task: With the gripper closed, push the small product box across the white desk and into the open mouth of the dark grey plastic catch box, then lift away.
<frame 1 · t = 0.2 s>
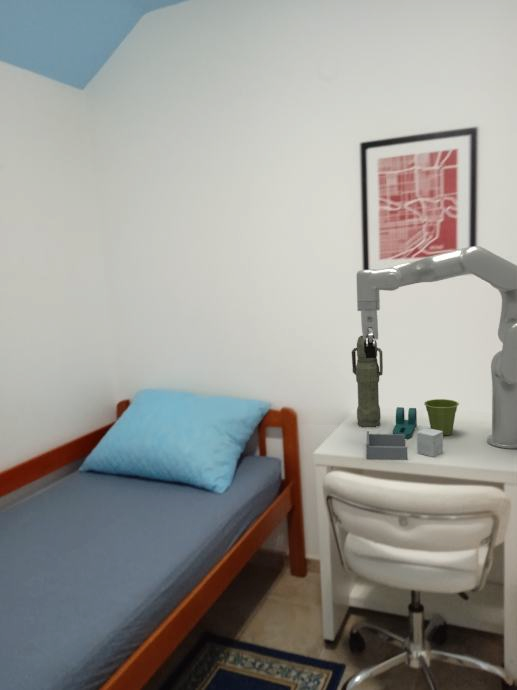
hand: (369, 355, 187), 31 cm above the table, tool pointing down, fingers open, 9 cm apart
thermos: (368, 425, 212), on the table
bracket: (404, 433, 200), on the table
plant pot: (441, 433, 197), on the table
catch box: (387, 452, 180), on the table
product box: (430, 453, 178), on the table
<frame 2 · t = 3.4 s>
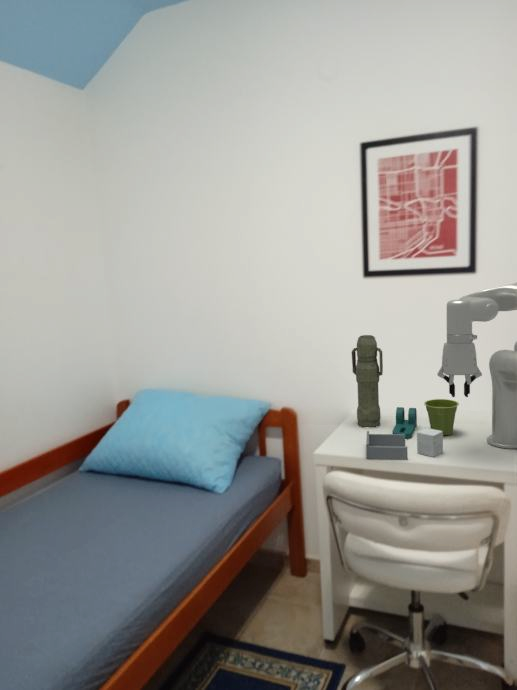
hand: (459, 395, 173), 19 cm above the table, tool pointing down, fingers open, 3 cm apart
nothing on the table moved.
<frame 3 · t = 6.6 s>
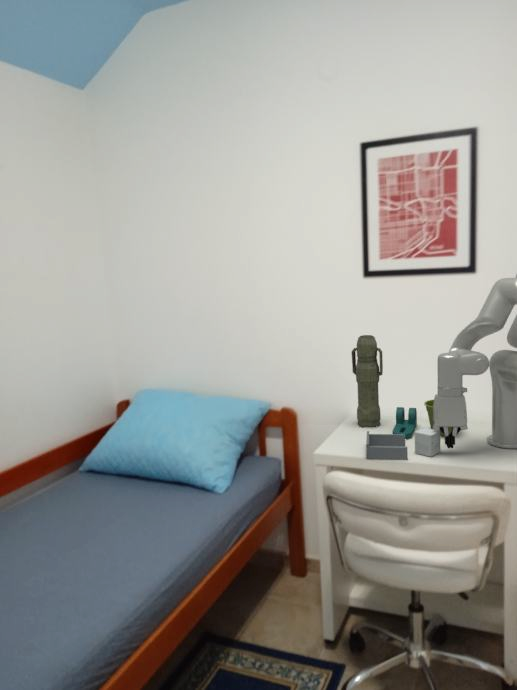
hand: (449, 446, 176), 2 cm above the table, tool pointing down, fingers closed
product box: (427, 453, 178), on the table, touching gripper
everything else where it was.
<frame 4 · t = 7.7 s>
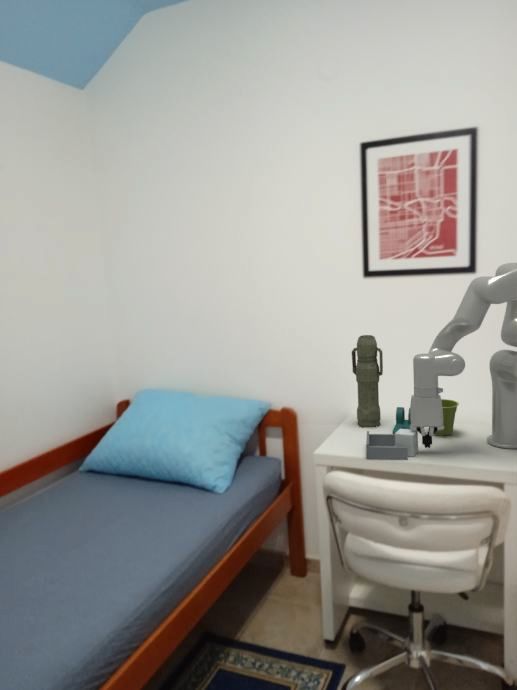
hand: (427, 446, 177), 2 cm above the table, tool pointing down, fingers closed
product box: (406, 453, 179), on the table, touching gripper
everything else where it was.
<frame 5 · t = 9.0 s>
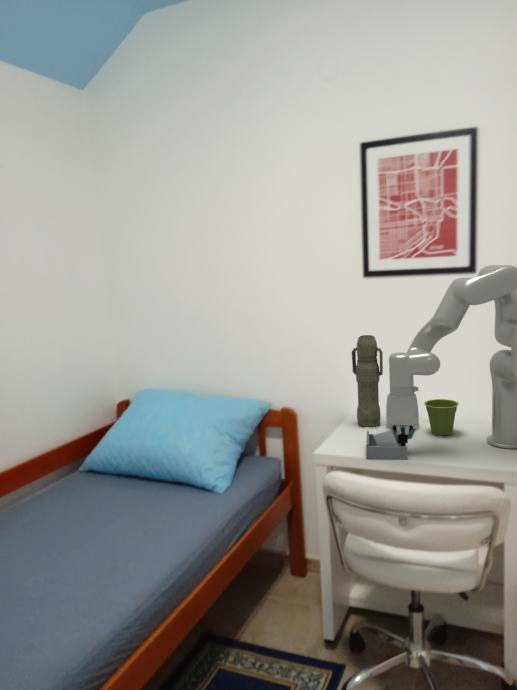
hand: (403, 444, 179), 3 cm above the table, tool pointing down, fingers closed
product box: (391, 451, 179), point 1 cm above the table, touching gripper
everything else where it was.
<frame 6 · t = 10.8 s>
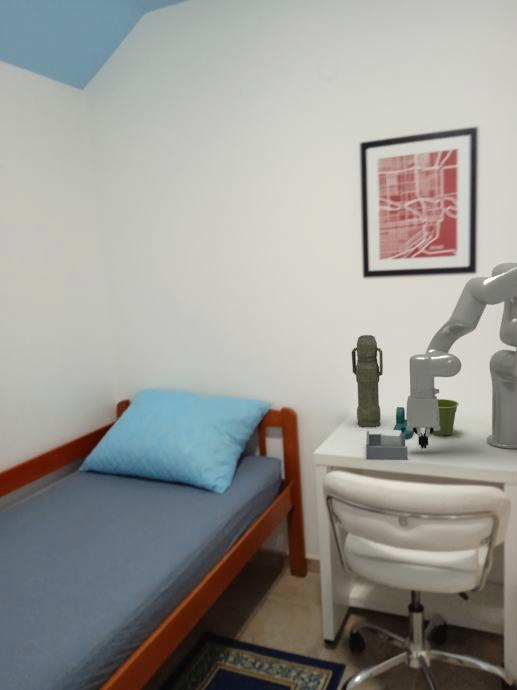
hand: (423, 447, 178), 2 cm above the table, tool pointing down, fingers closed
product box: (391, 454, 179), resting in catch box
everything else where it was.
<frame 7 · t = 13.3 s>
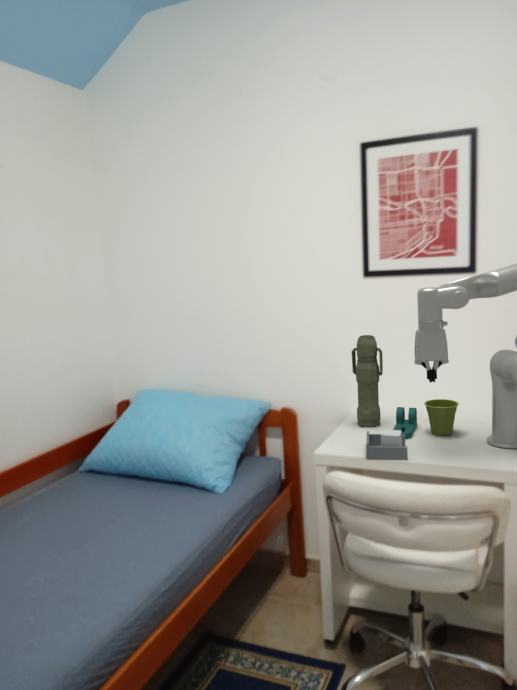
hand: (432, 381, 177), 23 cm above the table, tool pointing down, fingers closed
nothing on the table moved.
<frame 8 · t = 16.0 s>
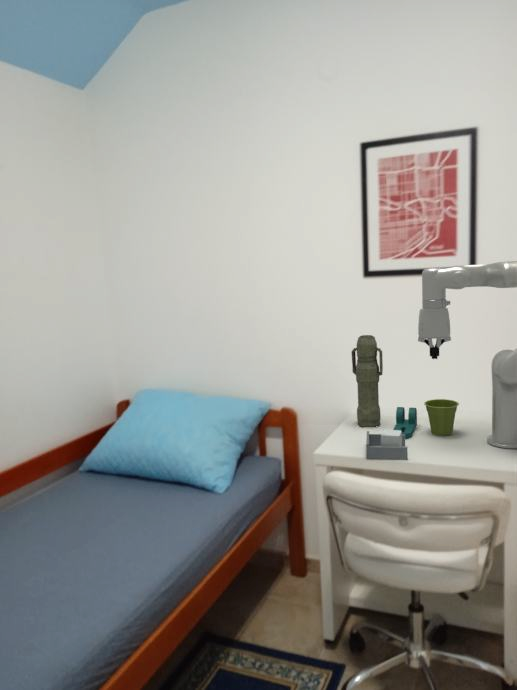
hand: (434, 358, 185), 29 cm above the table, tool pointing down, fingers closed
nothing on the table moved.
at the end: product box inside the target area (2.5 cm from its centre), resting in catch box; product box moved 12.4 cm from its start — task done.
